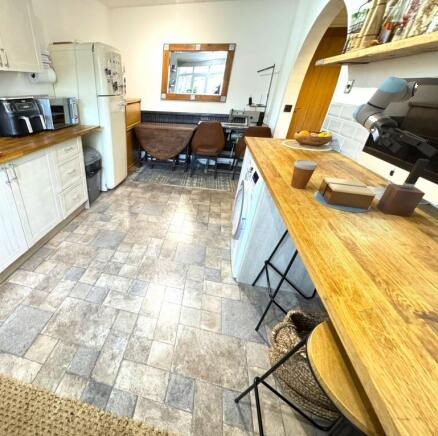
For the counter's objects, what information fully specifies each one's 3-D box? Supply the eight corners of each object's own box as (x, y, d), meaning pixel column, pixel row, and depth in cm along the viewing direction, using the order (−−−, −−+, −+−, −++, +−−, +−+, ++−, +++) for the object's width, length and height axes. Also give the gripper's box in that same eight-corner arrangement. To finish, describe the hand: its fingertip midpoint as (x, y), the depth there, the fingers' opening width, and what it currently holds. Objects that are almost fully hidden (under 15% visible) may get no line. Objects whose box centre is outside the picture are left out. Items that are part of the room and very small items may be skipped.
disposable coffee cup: (310, 191, 111) (320, 166, 105) (287, 188, 114) (296, 163, 108) (307, 184, 119) (316, 160, 113) (286, 181, 122) (293, 158, 116)
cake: (358, 195, 108) (367, 179, 104) (379, 216, 92) (389, 198, 88) (308, 189, 114) (314, 174, 110) (319, 207, 97) (327, 190, 93)
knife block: (400, 209, 97) (414, 186, 92) (409, 217, 91) (425, 193, 86) (376, 205, 99) (388, 183, 94) (384, 213, 94) (398, 190, 89)
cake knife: (396, 211, 96) (428, 159, 85) (398, 213, 94) (431, 160, 83) (386, 209, 97) (416, 158, 86) (388, 211, 95) (419, 159, 84)
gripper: (401, 137, 106) (438, 164, 91) (346, 130, 105) (375, 157, 90) (416, 120, 100) (459, 146, 86) (359, 113, 100) (392, 139, 85)
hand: (416, 152), depth 88 cm, fingers open, 13 cm apart
